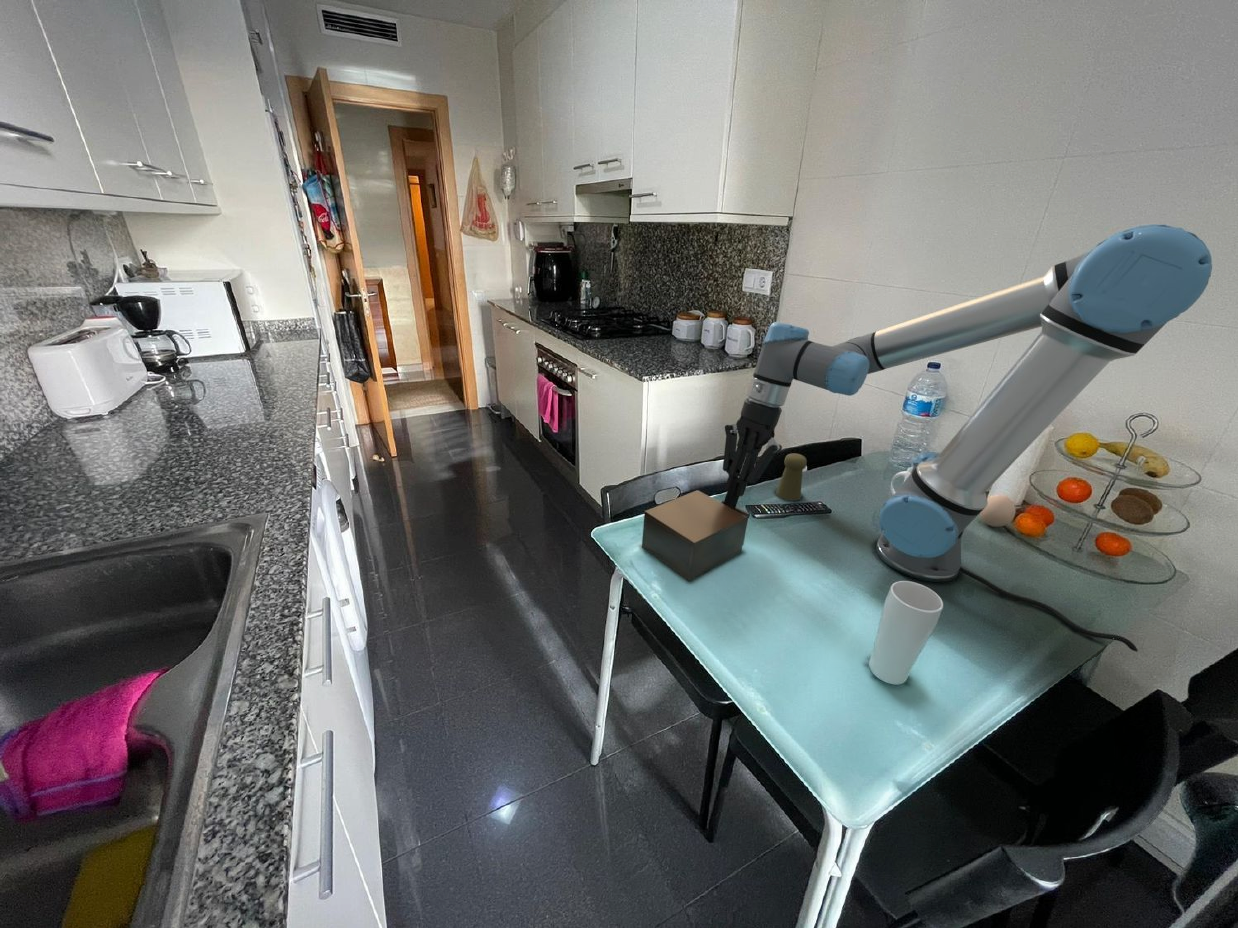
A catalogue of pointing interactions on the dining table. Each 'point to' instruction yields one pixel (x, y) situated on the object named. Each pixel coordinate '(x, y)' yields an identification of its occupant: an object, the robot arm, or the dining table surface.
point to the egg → (998, 511)
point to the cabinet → (693, 533)
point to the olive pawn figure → (792, 477)
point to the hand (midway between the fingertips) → (728, 506)
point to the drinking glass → (904, 630)
